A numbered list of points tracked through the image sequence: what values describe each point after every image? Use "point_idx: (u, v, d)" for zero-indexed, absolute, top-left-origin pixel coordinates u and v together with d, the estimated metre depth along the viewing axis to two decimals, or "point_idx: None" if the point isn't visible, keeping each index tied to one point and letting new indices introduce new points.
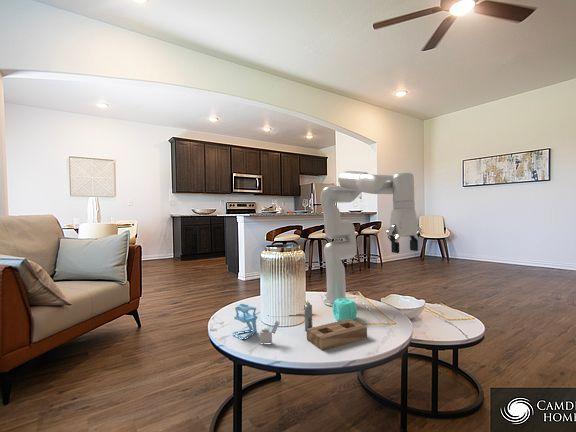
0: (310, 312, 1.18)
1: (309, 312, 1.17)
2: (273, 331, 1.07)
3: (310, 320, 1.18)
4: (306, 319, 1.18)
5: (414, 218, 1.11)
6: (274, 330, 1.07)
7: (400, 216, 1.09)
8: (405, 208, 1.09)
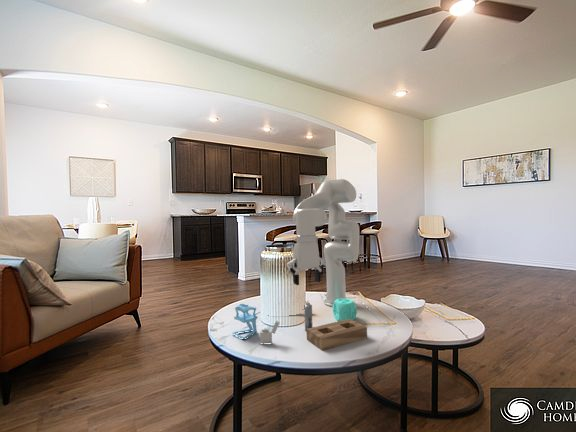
0: (310, 312, 1.18)
1: (309, 312, 1.18)
2: (273, 331, 1.07)
3: (310, 320, 1.18)
4: (306, 319, 1.18)
5: (315, 252, 1.18)
6: (274, 330, 1.07)
7: (300, 250, 1.15)
8: (304, 243, 1.15)
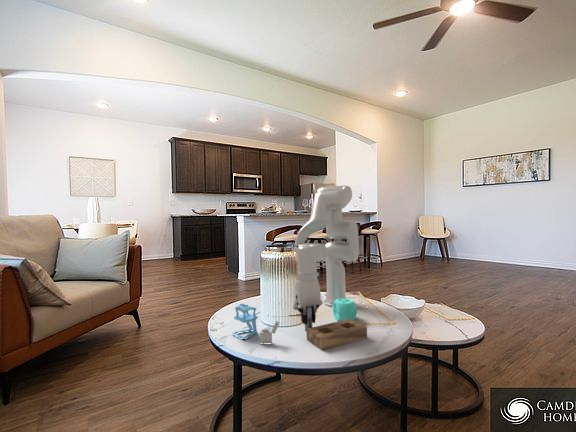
0: (310, 312, 1.18)
1: (309, 312, 1.17)
2: (273, 331, 1.07)
3: (310, 320, 1.18)
4: None
5: (316, 289, 1.18)
6: (274, 330, 1.07)
7: (301, 288, 1.15)
8: (305, 281, 1.15)
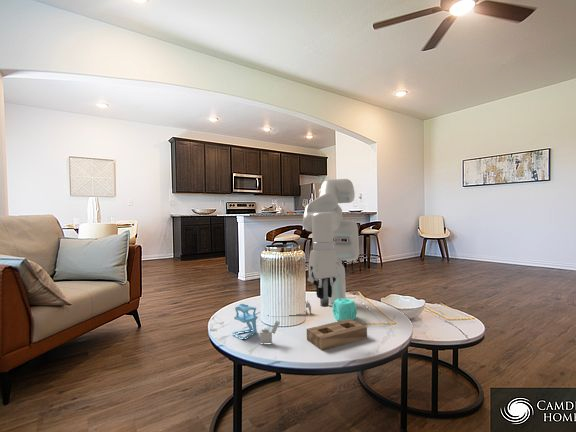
0: (326, 285, 1.07)
1: (325, 285, 1.07)
2: (273, 331, 1.07)
3: (326, 294, 1.07)
4: None
5: (333, 260, 1.07)
6: (274, 330, 1.07)
7: (316, 258, 1.04)
8: (322, 250, 1.04)
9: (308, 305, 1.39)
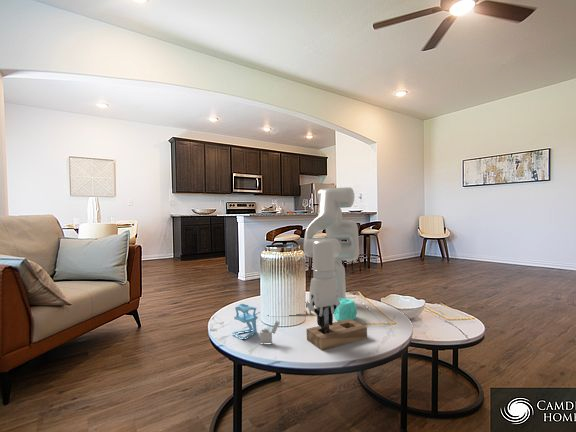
0: (327, 313, 1.07)
1: (326, 313, 1.07)
2: (273, 331, 1.07)
3: (327, 322, 1.07)
4: None
5: (334, 288, 1.07)
6: (274, 330, 1.07)
7: (317, 287, 1.04)
8: (322, 279, 1.04)
9: (308, 305, 1.39)
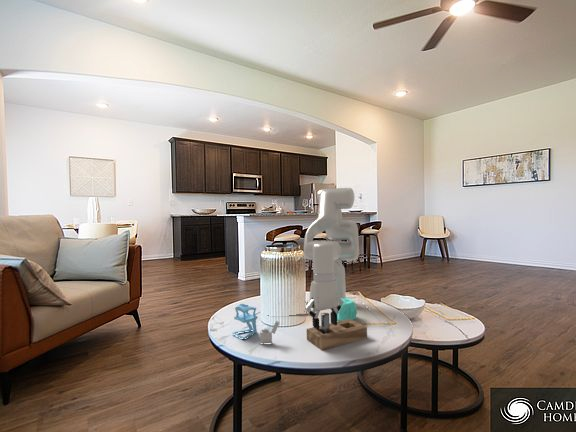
0: (327, 321, 1.07)
1: (326, 321, 1.07)
2: (273, 331, 1.07)
3: (327, 330, 1.07)
4: (323, 329, 1.07)
5: (334, 291, 1.07)
6: (274, 330, 1.07)
7: (317, 290, 1.04)
8: (322, 282, 1.04)
9: None
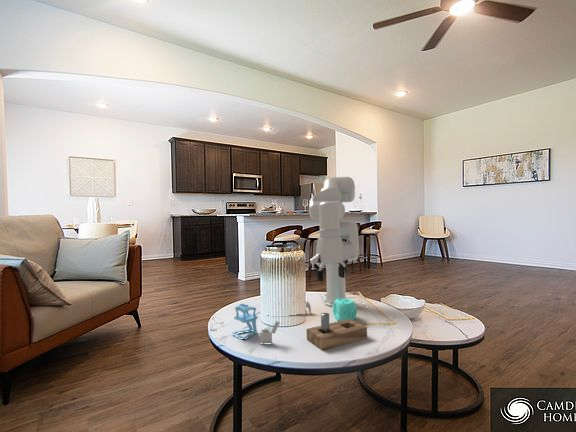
0: (327, 321, 1.07)
1: (326, 322, 1.07)
2: (273, 331, 1.07)
3: (327, 330, 1.07)
4: (323, 329, 1.07)
5: (339, 246, 1.12)
6: (274, 330, 1.07)
7: (324, 245, 1.10)
8: (328, 237, 1.09)
9: (308, 305, 1.39)
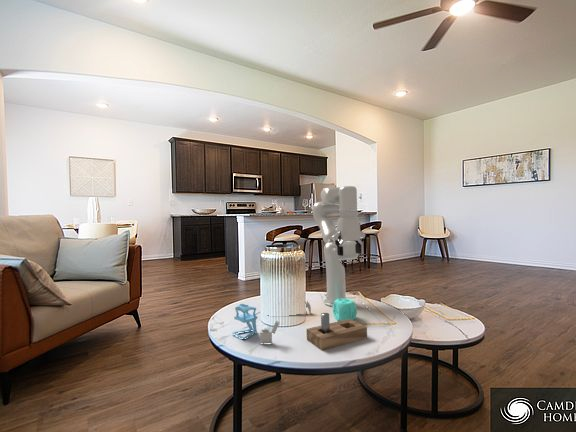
0: (327, 321, 1.07)
1: (326, 322, 1.07)
2: (273, 331, 1.07)
3: (327, 330, 1.07)
4: (323, 329, 1.07)
5: (357, 226, 1.29)
6: (274, 330, 1.07)
7: (344, 224, 1.26)
8: (348, 217, 1.26)
9: (308, 305, 1.39)
